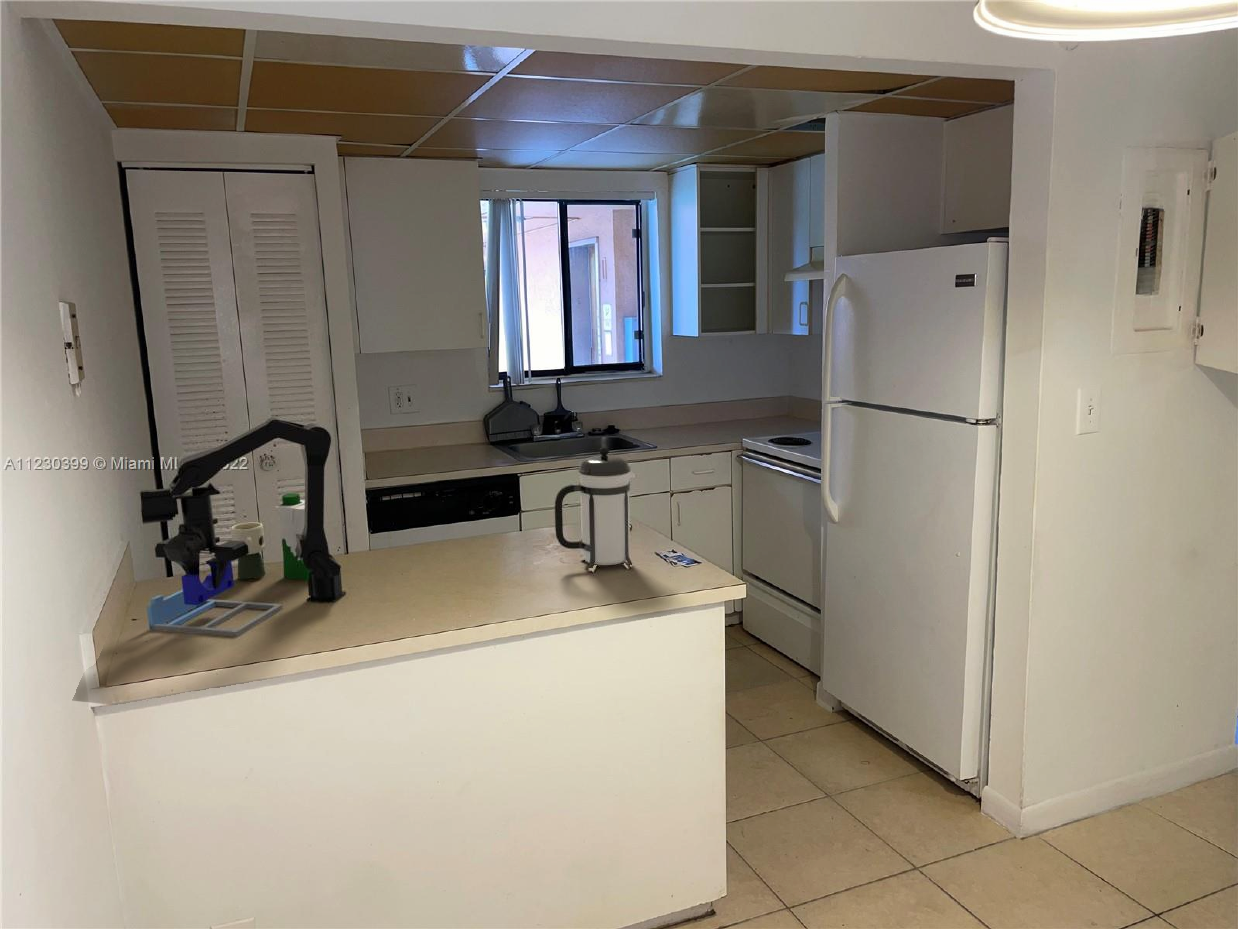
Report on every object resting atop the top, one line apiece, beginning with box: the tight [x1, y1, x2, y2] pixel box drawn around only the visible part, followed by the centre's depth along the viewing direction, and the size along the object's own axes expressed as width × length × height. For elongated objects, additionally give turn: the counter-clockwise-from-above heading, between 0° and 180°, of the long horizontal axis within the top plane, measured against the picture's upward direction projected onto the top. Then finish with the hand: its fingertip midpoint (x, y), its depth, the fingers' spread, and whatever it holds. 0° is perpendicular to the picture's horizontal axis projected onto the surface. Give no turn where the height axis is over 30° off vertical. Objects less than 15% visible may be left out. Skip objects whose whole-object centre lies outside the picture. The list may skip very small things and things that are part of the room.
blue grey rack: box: [146, 581, 284, 637], centre depth 188 cm, size 20×16×6 cm
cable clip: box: [181, 561, 235, 605], centre depth 188 cm, size 12×4×6 cm, turn 168°
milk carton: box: [275, 493, 313, 581], centre depth 215 cm, size 9×9×20 cm
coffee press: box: [554, 446, 636, 569], centre depth 218 cm, size 17×16×30 cm
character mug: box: [230, 522, 266, 580], centre depth 215 cm, size 11×7×13 cm, turn 26°
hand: (206, 587), depth 188 cm, fingers closed on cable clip, 4 cm apart
